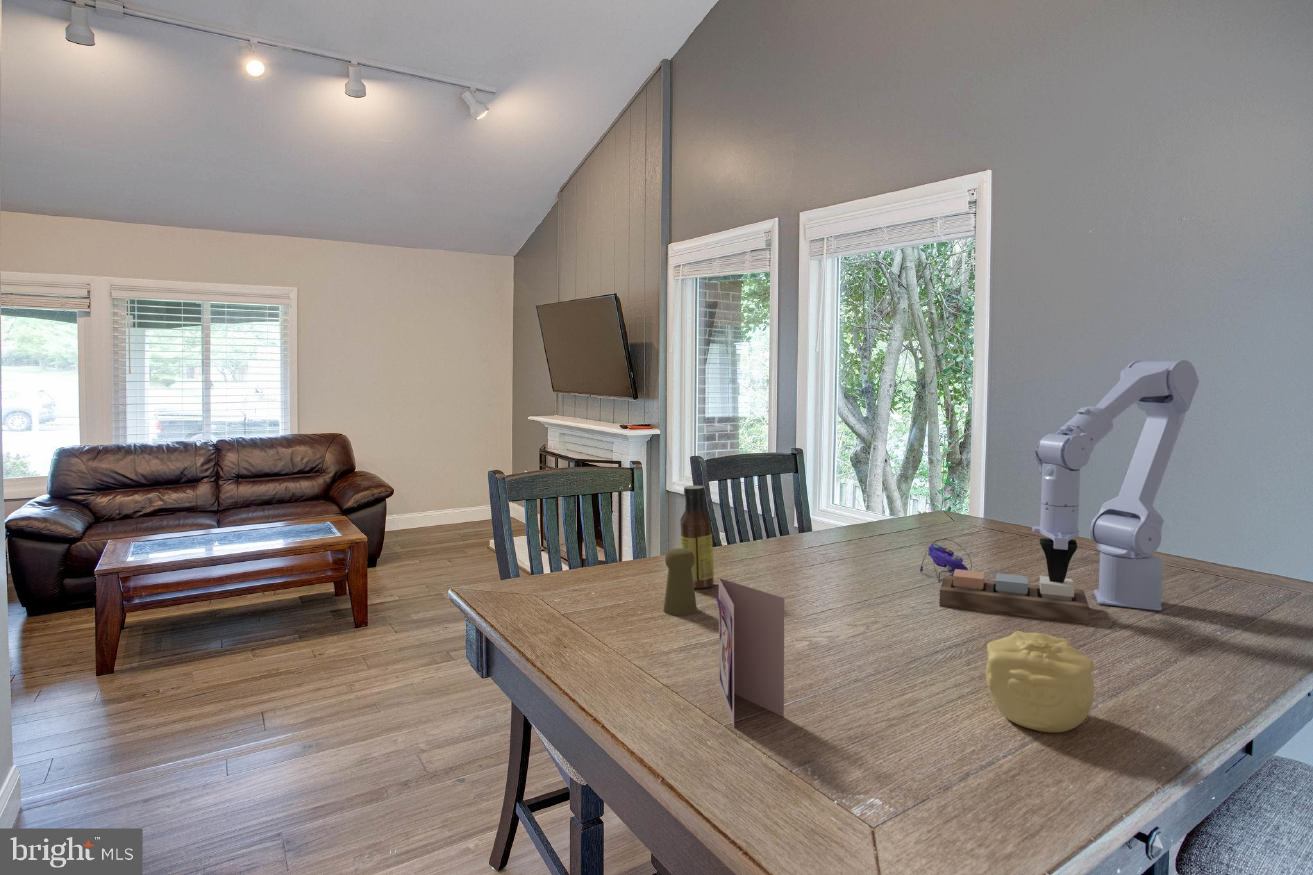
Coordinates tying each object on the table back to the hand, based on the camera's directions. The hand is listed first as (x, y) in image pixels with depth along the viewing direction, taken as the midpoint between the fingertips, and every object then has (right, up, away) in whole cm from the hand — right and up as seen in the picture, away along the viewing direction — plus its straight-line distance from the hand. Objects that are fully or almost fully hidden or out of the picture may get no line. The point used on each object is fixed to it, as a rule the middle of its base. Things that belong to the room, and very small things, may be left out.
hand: (1056, 581), depth 126 cm
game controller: (-11, -4, +23) cm, 26 cm away
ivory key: (0, -3, 0) cm, 3 cm away
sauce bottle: (-61, -5, +18) cm, 64 cm away
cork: (-65, -6, +4) cm, 66 cm away
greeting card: (-58, -9, -33) cm, 67 cm away
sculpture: (-23, -9, -38) cm, 46 cm away
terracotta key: (-13, -3, +7) cm, 14 cm away
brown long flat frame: (-6, -5, +4) cm, 9 cm away
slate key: (-6, -4, +3) cm, 8 cm away
